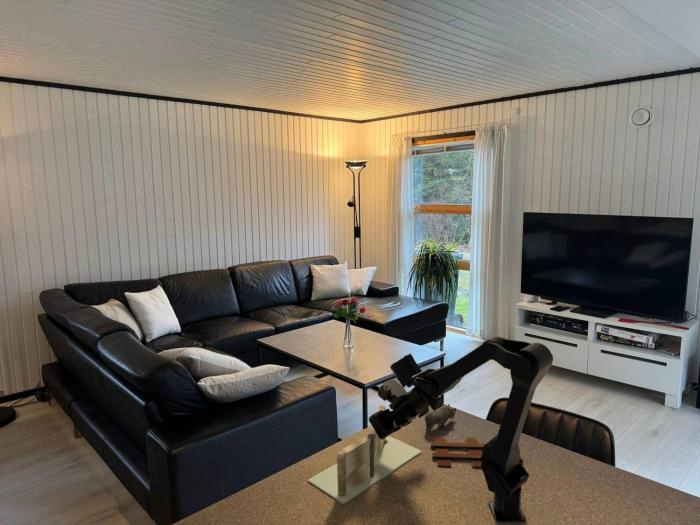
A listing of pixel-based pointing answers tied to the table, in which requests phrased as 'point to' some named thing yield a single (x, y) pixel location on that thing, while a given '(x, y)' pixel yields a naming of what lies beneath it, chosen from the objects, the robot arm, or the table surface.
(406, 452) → the card
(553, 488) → the table surface
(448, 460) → the decorative fence
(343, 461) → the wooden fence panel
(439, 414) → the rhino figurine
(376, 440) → the hinged fence panel
